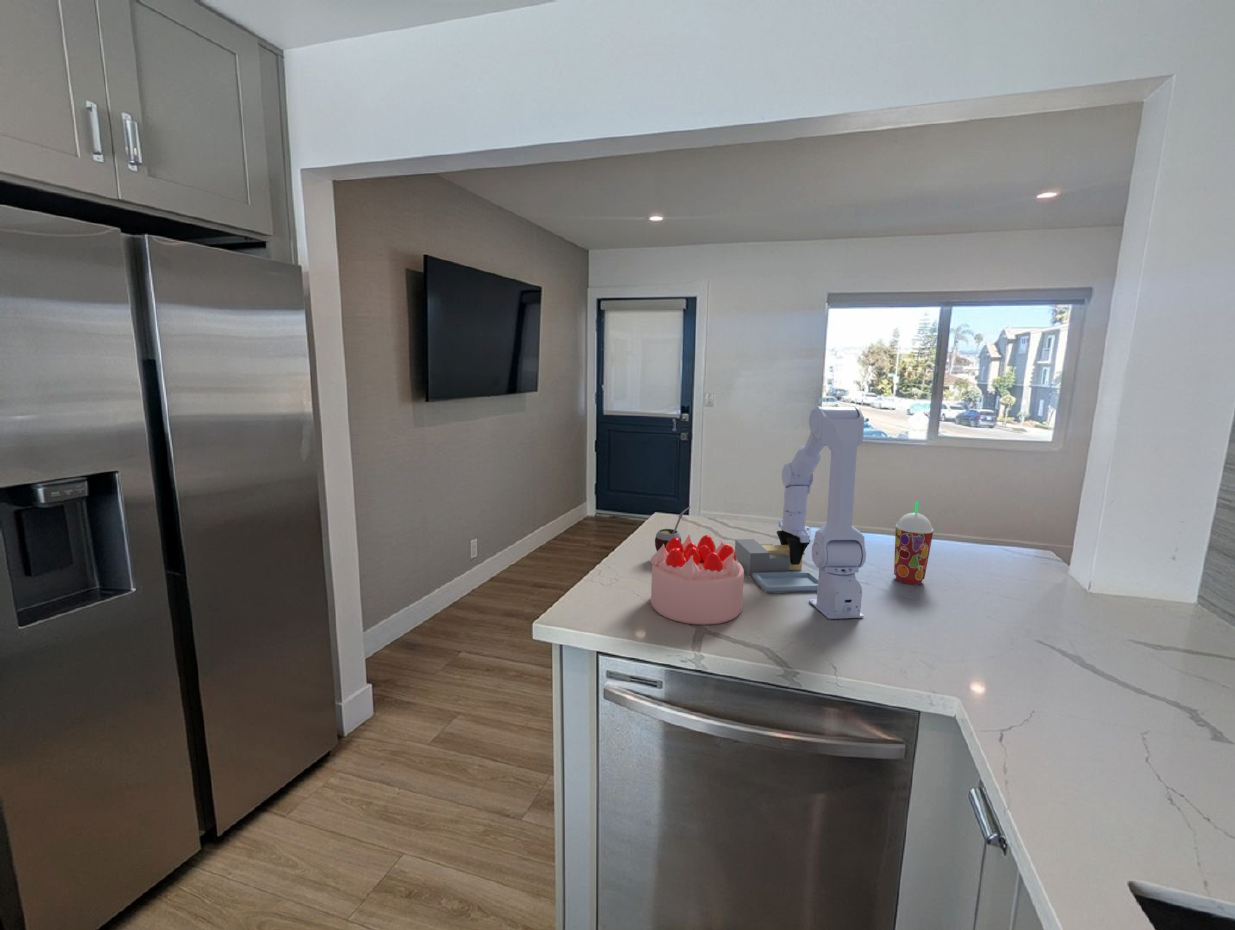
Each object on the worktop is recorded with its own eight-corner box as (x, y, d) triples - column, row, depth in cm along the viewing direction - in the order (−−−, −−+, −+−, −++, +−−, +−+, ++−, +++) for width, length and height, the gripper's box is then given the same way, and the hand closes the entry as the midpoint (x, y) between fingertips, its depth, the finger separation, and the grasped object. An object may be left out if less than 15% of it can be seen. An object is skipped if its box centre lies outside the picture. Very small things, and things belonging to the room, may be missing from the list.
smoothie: (919, 575, 148) (927, 498, 144) (933, 587, 140) (942, 506, 136) (885, 573, 149) (892, 497, 145) (897, 586, 141) (905, 505, 137)
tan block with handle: (804, 569, 151) (806, 549, 150) (764, 571, 150) (765, 550, 149) (797, 564, 155) (799, 544, 154) (758, 565, 154) (759, 545, 153)
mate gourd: (648, 559, 156) (650, 505, 154) (669, 553, 162) (670, 500, 159) (669, 567, 151) (671, 510, 148) (689, 560, 156) (691, 506, 154)
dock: (788, 575, 147) (790, 552, 146) (749, 576, 145) (750, 553, 144) (771, 559, 158) (772, 538, 157) (734, 561, 156) (735, 539, 155)
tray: (827, 591, 137) (828, 585, 136) (766, 593, 135) (767, 587, 134) (810, 576, 146) (810, 571, 145) (752, 578, 144) (752, 573, 143)
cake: (748, 628, 117) (752, 560, 114) (648, 624, 118) (650, 556, 116) (735, 590, 136) (738, 532, 134) (649, 587, 137) (651, 529, 135)
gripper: (822, 517, 143) (818, 570, 146) (797, 503, 158) (793, 551, 160) (795, 518, 142) (791, 571, 145) (772, 503, 157) (769, 552, 159)
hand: (791, 561), depth 152 cm, fingers closed on tan block with handle, 4 cm apart
